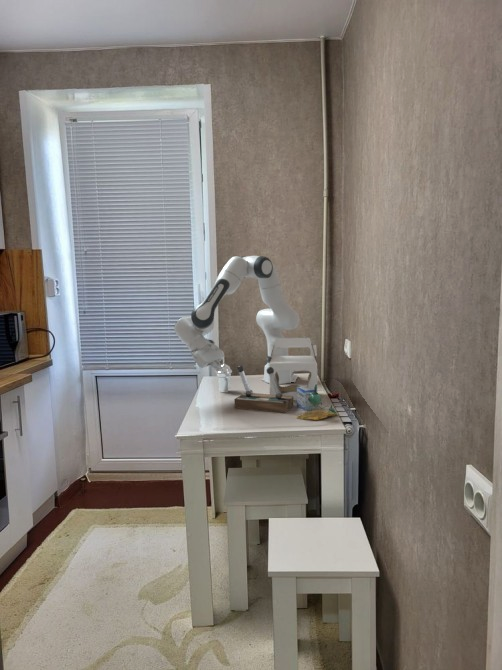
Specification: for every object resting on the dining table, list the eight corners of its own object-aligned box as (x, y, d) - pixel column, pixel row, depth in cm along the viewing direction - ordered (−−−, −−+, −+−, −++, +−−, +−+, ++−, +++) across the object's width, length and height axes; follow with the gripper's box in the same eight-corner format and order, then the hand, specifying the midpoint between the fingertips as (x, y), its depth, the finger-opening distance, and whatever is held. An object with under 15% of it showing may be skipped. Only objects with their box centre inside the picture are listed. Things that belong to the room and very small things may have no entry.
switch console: (245, 401, 220) (245, 391, 220) (294, 405, 212) (294, 395, 211) (234, 408, 209) (234, 397, 209) (286, 412, 201) (286, 402, 200)
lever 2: (277, 398, 209) (266, 367, 209) (284, 396, 208) (273, 365, 208) (275, 400, 206) (264, 368, 207) (282, 398, 205) (271, 366, 205)
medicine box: (296, 406, 210) (296, 386, 209) (305, 404, 212) (305, 385, 211) (305, 410, 203) (305, 390, 202) (314, 409, 205) (314, 389, 204)
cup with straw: (213, 392, 237) (211, 352, 234) (219, 388, 245) (218, 349, 242) (229, 393, 234) (228, 353, 231) (235, 389, 243) (234, 350, 240)
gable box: (316, 393, 232) (316, 335, 228) (318, 400, 218) (317, 339, 215) (270, 393, 234) (269, 336, 230) (269, 400, 220) (268, 340, 217)
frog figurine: (342, 421, 188) (338, 384, 186) (296, 426, 189) (292, 390, 187) (338, 413, 198) (334, 378, 196) (295, 418, 199) (290, 384, 197)
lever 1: (248, 395, 215) (237, 365, 215) (254, 393, 213) (243, 363, 213) (245, 397, 212) (234, 367, 212) (251, 395, 210) (240, 365, 210)
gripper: (193, 346, 208) (214, 369, 206) (214, 339, 227) (234, 361, 224) (185, 355, 210) (205, 379, 208) (206, 348, 229) (225, 370, 227)
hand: (220, 369), depth 216 cm, fingers closed
